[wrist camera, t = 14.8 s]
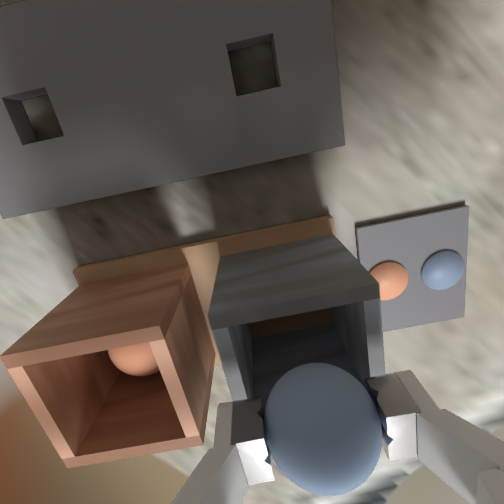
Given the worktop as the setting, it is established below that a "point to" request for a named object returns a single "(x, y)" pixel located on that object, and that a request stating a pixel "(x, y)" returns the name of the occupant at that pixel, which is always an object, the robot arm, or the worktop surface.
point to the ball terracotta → (135, 359)
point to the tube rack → (194, 336)
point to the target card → (418, 266)
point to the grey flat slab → (157, 93)
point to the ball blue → (323, 429)
